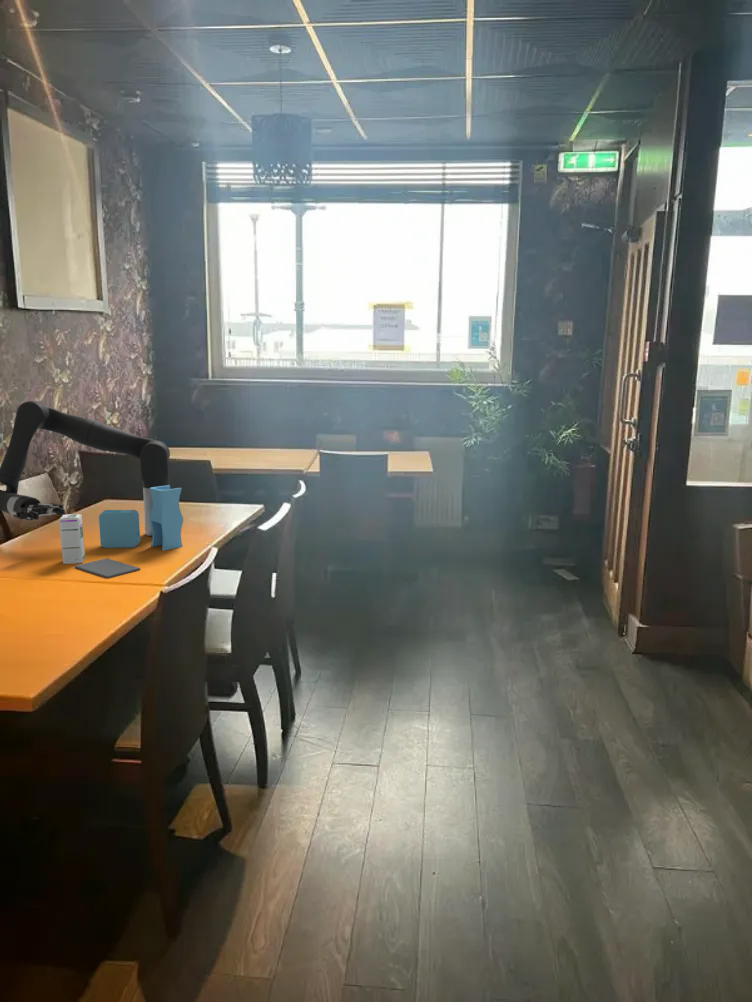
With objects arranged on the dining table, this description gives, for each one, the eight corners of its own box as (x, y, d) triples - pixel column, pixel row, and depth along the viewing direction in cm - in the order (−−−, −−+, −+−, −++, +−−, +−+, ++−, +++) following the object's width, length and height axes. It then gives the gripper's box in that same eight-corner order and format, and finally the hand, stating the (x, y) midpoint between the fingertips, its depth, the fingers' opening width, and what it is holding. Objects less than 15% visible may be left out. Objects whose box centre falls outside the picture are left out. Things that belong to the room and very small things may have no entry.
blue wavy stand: (184, 546, 248) (182, 488, 244) (163, 550, 242) (160, 490, 238) (171, 542, 253) (169, 484, 249) (150, 546, 247) (148, 487, 243)
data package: (140, 544, 250) (138, 509, 248) (137, 547, 245) (135, 512, 243) (104, 544, 249) (101, 510, 246) (100, 548, 244) (98, 512, 242)
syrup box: (82, 563, 226) (79, 517, 224) (62, 564, 225) (58, 518, 222) (85, 558, 232) (82, 513, 229) (65, 559, 230) (62, 514, 228)
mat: (74, 567, 222) (74, 565, 221) (107, 560, 230) (107, 558, 230) (107, 578, 211) (107, 576, 211) (140, 569, 220) (140, 567, 220)
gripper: (1, 498, 236) (28, 505, 226) (44, 493, 247) (71, 499, 237) (3, 521, 237) (29, 529, 227) (45, 514, 248) (72, 522, 239)
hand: (50, 514), depth 232 cm, fingers open, 8 cm apart
